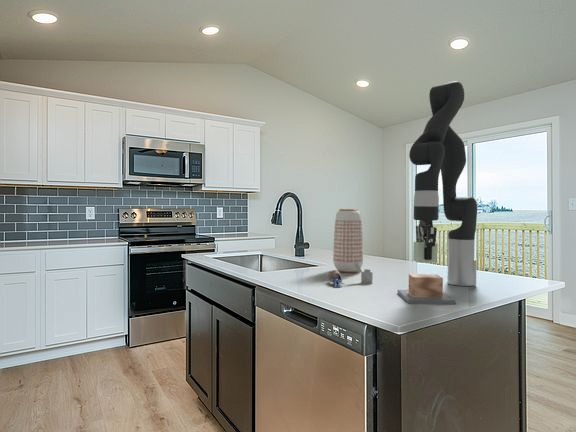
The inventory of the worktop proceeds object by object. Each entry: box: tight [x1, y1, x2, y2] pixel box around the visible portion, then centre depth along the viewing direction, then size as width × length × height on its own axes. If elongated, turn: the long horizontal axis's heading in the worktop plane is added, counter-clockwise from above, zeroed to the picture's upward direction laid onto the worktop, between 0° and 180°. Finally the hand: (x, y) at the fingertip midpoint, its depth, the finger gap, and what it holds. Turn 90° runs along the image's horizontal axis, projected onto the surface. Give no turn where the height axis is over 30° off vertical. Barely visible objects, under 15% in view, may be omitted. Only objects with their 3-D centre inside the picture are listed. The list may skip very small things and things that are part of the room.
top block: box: [412, 241, 438, 264], centre depth 123 cm, size 6×5×6 cm
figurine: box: [328, 269, 345, 289], centre depth 145 cm, size 6×5×12 cm
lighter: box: [354, 262, 374, 284], centre depth 149 cm, size 7×2×8 cm, turn 74°
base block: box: [408, 273, 444, 297], centre depth 124 cm, size 9×6×6 cm
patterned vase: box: [332, 208, 364, 274], centre depth 175 cm, size 13×13×28 cm
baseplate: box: [397, 289, 457, 305], centre depth 124 cm, size 14×14×1 cm
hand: (425, 258), depth 124 cm, fingers closed on top block, 5 cm apart
